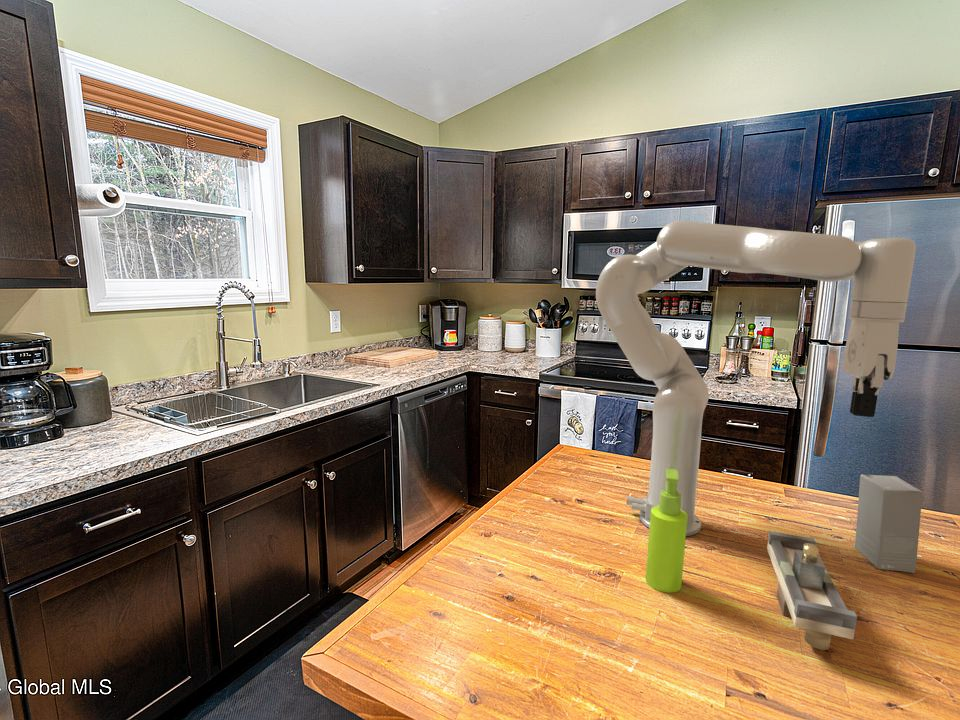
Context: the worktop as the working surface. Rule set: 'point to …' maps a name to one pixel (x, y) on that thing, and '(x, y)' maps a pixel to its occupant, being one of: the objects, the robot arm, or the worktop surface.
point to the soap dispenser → (667, 539)
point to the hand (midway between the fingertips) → (861, 414)
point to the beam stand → (808, 596)
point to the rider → (808, 567)
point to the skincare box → (888, 522)
